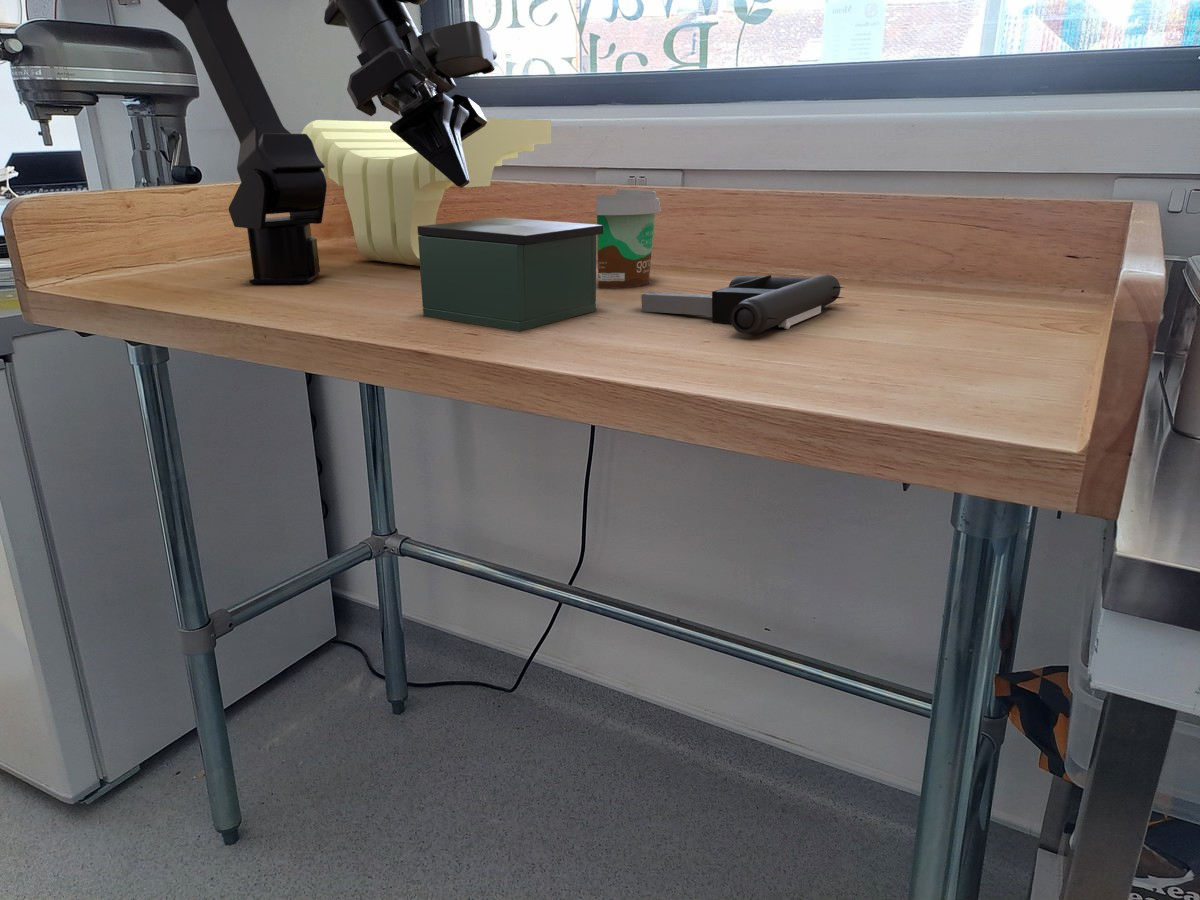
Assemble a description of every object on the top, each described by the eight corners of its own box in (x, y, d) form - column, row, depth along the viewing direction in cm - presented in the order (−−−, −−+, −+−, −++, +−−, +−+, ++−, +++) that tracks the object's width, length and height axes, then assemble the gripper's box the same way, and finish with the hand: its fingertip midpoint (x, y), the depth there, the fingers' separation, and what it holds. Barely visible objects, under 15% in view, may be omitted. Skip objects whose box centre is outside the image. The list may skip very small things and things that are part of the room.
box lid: (603, 233, 79) (603, 225, 79) (524, 245, 70) (524, 235, 70) (501, 225, 86) (501, 217, 86) (417, 235, 77) (417, 226, 77)
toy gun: (606, 294, 77) (773, 302, 68) (709, 269, 93) (856, 273, 84) (608, 330, 78) (773, 343, 69) (709, 300, 94) (854, 307, 85)
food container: (650, 291, 93) (653, 196, 89) (595, 289, 94) (595, 195, 90) (665, 275, 104) (668, 189, 101) (615, 273, 105) (616, 188, 102)
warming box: (596, 311, 82) (596, 233, 80) (519, 331, 73) (517, 244, 71) (504, 298, 88) (501, 226, 86) (423, 316, 79) (417, 235, 77)
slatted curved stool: (310, 257, 118) (296, 119, 112) (399, 246, 130) (389, 121, 124) (468, 277, 101) (461, 117, 95) (552, 263, 114) (550, 120, 108)
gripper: (413, -58, 70) (502, 112, 70) (492, 25, 88) (562, 160, 88) (308, 20, 72) (393, 183, 73) (405, 85, 91) (473, 216, 91)
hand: (464, 184), depth 81 cm, fingers closed
